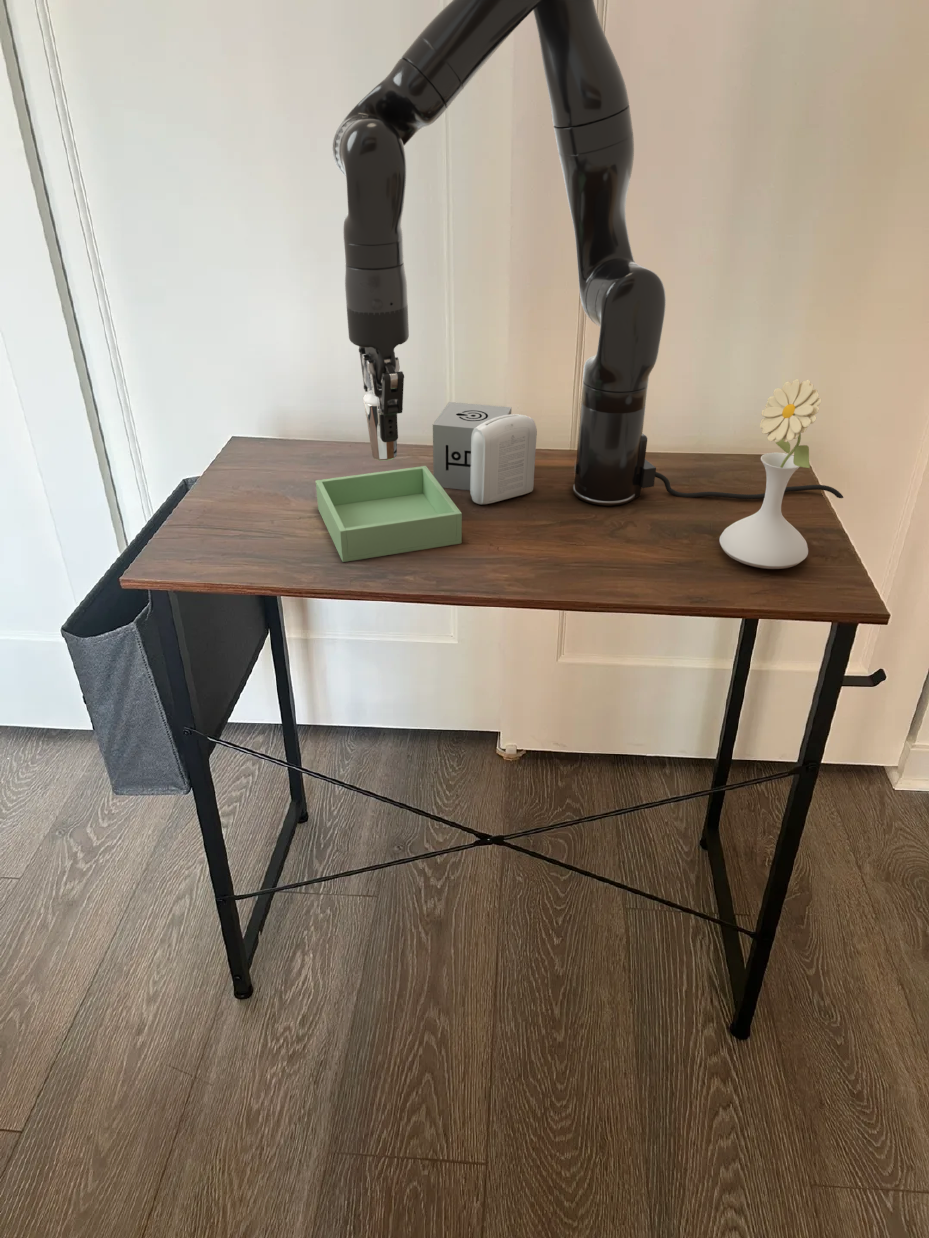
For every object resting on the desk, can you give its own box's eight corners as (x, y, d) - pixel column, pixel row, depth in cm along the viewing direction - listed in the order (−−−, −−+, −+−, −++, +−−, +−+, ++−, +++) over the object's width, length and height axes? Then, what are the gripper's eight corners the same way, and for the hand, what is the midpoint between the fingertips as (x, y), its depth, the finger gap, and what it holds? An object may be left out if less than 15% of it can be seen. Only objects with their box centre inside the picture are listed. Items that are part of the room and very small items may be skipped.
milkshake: (408, 450, 123) (405, 378, 117) (393, 464, 118) (388, 390, 113) (378, 446, 124) (373, 375, 119) (362, 460, 120) (356, 387, 114)
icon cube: (433, 486, 138) (432, 424, 132) (449, 461, 146) (448, 401, 140) (497, 493, 136) (499, 430, 131) (509, 467, 144) (511, 407, 139)
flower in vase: (709, 535, 125) (741, 356, 111) (792, 536, 125) (833, 358, 111) (730, 583, 114) (767, 392, 100) (820, 585, 114) (870, 393, 100)
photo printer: (521, 482, 139) (524, 405, 132) (537, 492, 136) (542, 414, 129) (465, 498, 134) (466, 419, 127) (481, 508, 131) (483, 428, 125)
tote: (426, 493, 136) (426, 465, 133) (461, 543, 123) (461, 513, 120) (318, 509, 131) (315, 480, 129) (342, 562, 118) (340, 531, 115)
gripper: (422, 313, 105) (427, 450, 115) (391, 286, 117) (397, 412, 126) (360, 319, 103) (370, 458, 113) (334, 291, 115) (345, 419, 124)
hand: (384, 433), depth 119 cm, fingers closed on milkshake, 4 cm apart
